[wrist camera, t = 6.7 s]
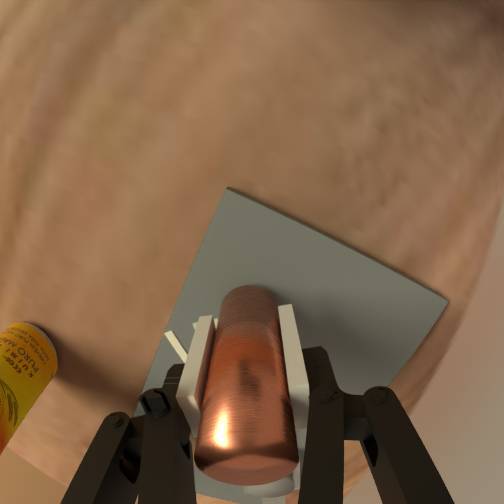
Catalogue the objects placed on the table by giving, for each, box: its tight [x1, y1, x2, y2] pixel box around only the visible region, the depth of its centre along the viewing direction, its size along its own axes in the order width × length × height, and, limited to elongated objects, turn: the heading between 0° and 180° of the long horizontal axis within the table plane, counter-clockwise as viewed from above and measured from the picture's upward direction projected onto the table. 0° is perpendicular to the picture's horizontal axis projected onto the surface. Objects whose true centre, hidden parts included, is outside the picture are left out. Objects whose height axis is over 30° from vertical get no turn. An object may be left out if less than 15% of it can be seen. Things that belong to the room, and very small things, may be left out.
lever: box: [194, 285, 300, 504], centre depth 18 cm, size 27×6×12 cm, turn 6°
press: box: [133, 187, 449, 504], centre depth 22 cm, size 32×18×5 cm, turn 155°
